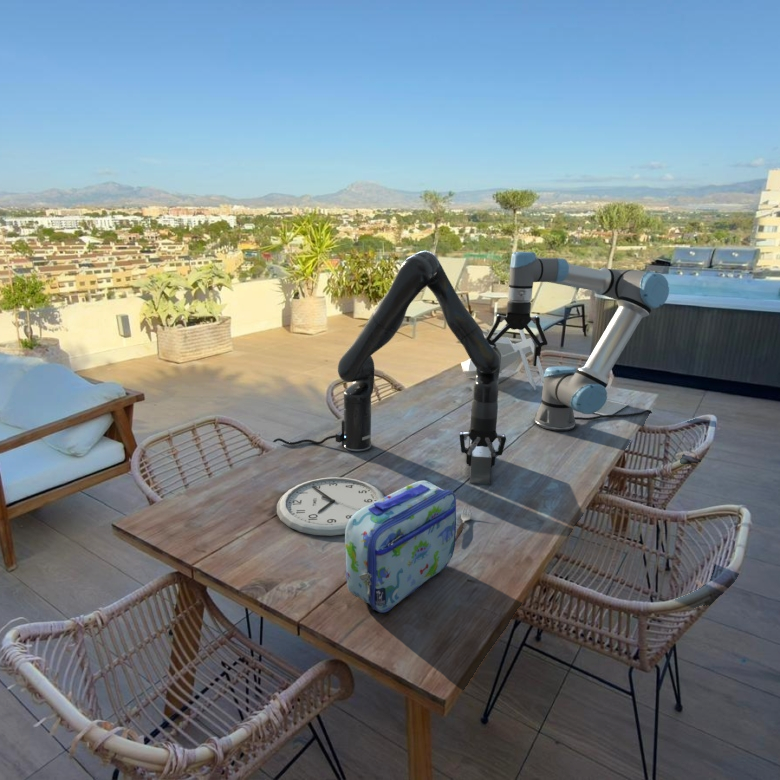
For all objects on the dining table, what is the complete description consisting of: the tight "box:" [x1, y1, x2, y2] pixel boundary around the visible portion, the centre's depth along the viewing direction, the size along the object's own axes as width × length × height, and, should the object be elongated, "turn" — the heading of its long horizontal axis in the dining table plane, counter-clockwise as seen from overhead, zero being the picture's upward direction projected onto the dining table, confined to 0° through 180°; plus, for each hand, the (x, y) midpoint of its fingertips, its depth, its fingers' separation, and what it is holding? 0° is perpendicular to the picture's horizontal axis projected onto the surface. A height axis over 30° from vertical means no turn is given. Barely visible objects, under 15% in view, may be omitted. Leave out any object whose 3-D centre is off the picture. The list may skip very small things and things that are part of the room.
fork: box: [455, 504, 474, 543], centre depth 133 cm, size 3×16×2 cm, turn 160°
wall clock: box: [276, 476, 386, 537], centre depth 142 cm, size 30×2×30 cm
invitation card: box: [593, 399, 629, 416], centre depth 226 cm, size 21×1×15 cm
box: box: [468, 436, 492, 485], centre depth 166 cm, size 22×6×9 cm, turn 173°
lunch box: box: [344, 480, 457, 614], centre depth 109 cm, size 26×11×21 cm, turn 135°
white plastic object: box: [460, 329, 545, 391], centre depth 259 cm, size 37×45×31 cm
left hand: (480, 465), depth 158 cm, fingers closed on box, 5 cm apart
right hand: (513, 364), depth 176 cm, fingers open, 13 cm apart
